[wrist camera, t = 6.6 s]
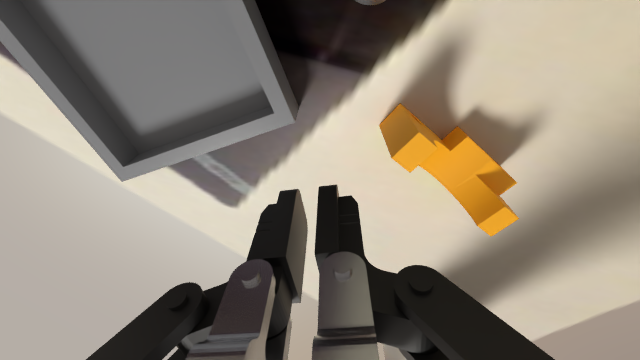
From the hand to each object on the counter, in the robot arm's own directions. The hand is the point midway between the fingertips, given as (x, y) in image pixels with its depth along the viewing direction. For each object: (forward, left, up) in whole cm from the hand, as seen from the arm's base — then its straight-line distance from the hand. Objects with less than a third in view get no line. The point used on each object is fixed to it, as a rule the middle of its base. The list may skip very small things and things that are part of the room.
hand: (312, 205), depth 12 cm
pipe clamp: (-8, -9, -16) cm, 20 cm away
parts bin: (+8, +11, -15) cm, 21 cm away
